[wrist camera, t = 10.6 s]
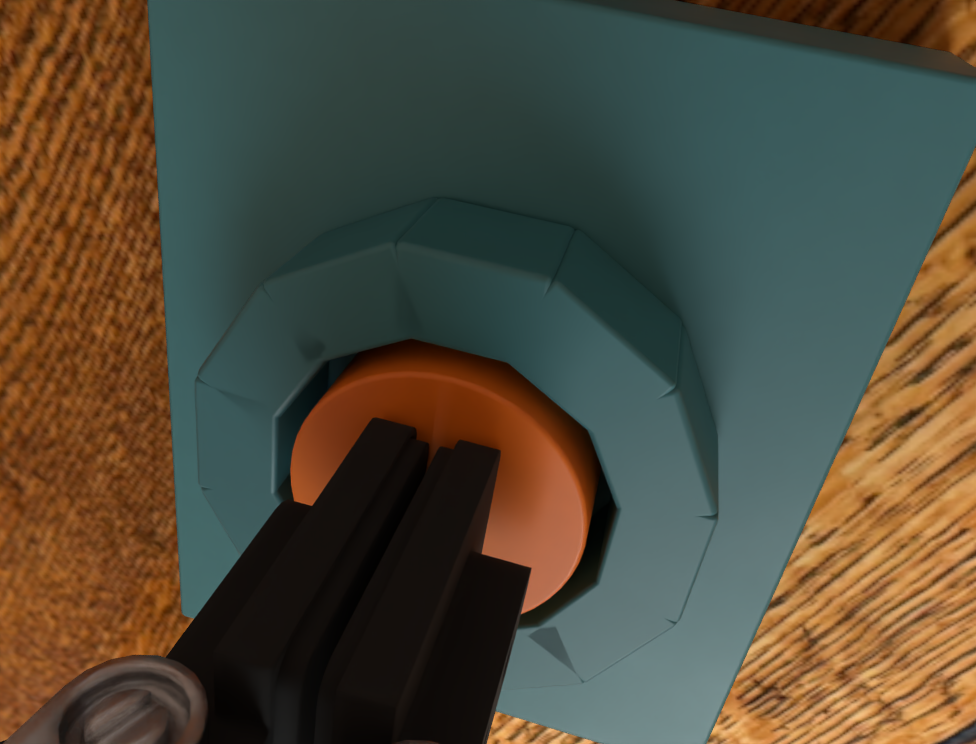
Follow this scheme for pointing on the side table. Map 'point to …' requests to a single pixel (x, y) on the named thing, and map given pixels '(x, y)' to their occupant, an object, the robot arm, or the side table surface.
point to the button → (474, 418)
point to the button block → (553, 281)
